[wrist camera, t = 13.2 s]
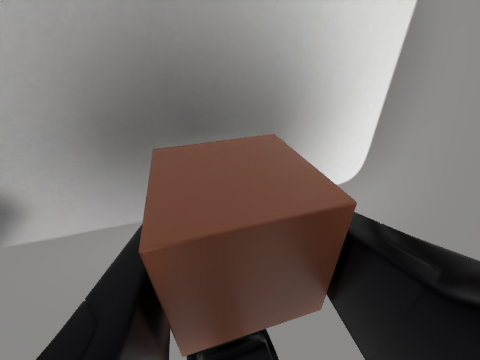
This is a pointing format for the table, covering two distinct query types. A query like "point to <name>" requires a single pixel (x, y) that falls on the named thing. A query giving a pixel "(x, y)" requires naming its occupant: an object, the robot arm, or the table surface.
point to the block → (239, 237)
